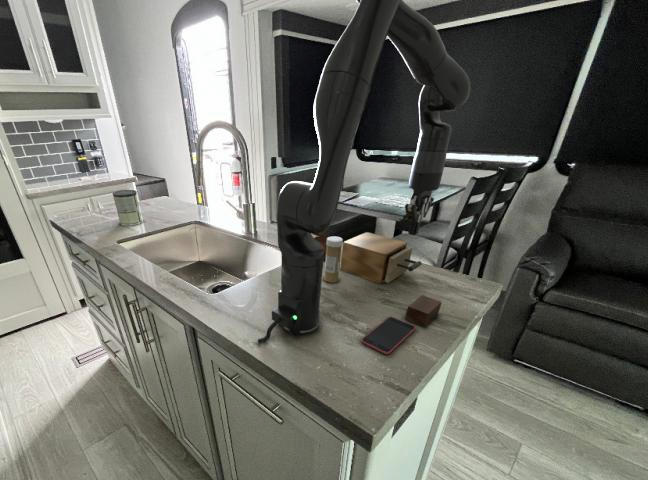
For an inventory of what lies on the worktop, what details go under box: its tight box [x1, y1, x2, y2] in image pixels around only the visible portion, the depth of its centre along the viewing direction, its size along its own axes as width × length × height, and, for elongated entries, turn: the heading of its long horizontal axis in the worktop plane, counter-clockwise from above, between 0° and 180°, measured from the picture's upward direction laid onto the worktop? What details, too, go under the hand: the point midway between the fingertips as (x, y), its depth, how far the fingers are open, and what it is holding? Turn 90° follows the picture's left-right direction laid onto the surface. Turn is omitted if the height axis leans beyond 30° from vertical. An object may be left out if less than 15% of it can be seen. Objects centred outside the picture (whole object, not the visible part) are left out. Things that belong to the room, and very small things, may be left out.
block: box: [404, 294, 442, 328], centre depth 81 cm, size 5×8×4 cm, turn 134°
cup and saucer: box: [314, 235, 331, 260], centre depth 116 cm, size 12×12×6 cm
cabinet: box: [339, 231, 408, 285], centre depth 104 cm, size 15×14×10 cm
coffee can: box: [112, 189, 144, 227], centre depth 150 cm, size 10×10×14 cm
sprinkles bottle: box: [323, 236, 344, 283], centre depth 97 cm, size 5×5×14 cm
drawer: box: [382, 246, 423, 284], centre depth 100 cm, size 18×12×8 cm
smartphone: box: [361, 316, 416, 355], centre depth 75 cm, size 7×1×14 cm
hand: (412, 234), depth 92 cm, fingers closed
